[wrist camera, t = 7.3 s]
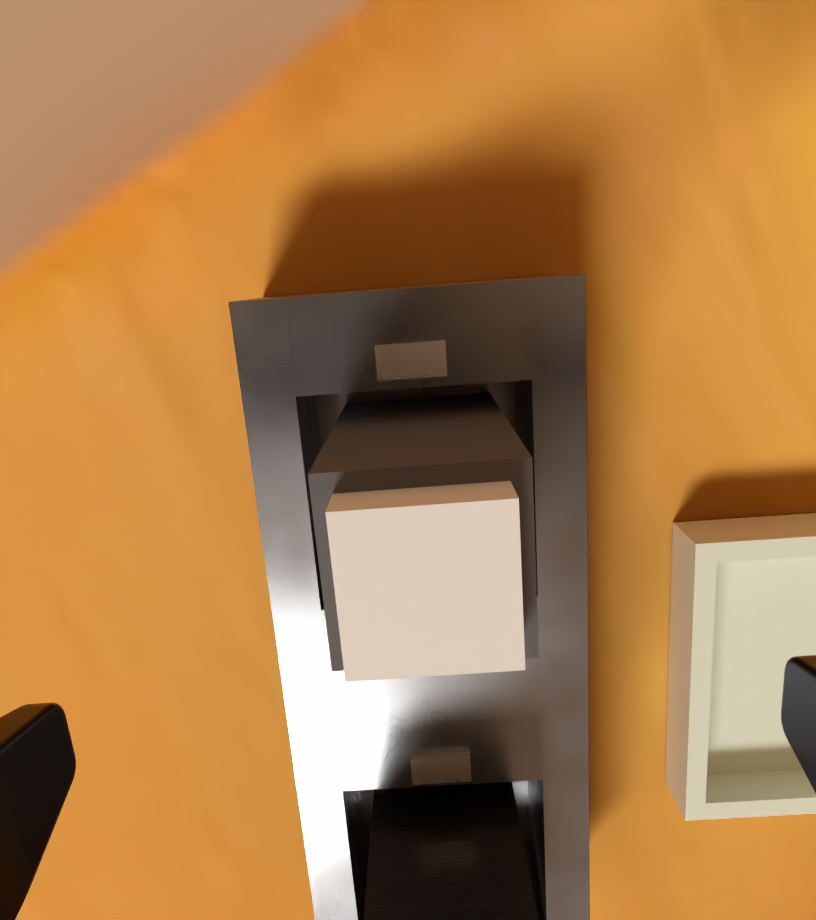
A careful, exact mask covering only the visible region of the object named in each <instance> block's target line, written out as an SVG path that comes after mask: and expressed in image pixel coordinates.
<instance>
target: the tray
mask: <svg viewBox="0 0 816 920" xmlns="http://www.w3.org/2000/svg"><path fill="white" fill-rule="evenodd" d="M808 655H816V513H808V514H793V515H778V516H763V517H748V518H733V519H718V520H702V521H687V522H673V538H672V572H671V607H670V642H669V676H668V711H667V746H666V780H665V781H666V783H667V785H668V787H669V789H670V791H671V793H672V795H673V797H674V799H675V801H676V803H677V805H678V807H679V809H680V811H681V813H682V815H683V817H684V819H685V821H688V820H706V819H724V818H743V817H761V816H780V815H798V814H816V793H815V791H814V789H813V788H812V786H811V784H810V782H809V780H808V778H807V776H806V774H805V772H804V770H803V768H802V767H801V765H800V763H799V761H798V759H797V757H796V755H795V753H794V751H793V749H792V748H791V746H790V744H789V742H788V740H787V738H786V736H785V733H784V730H783V727H782V722H781V707H782V694H783V682H784V670H785V665H786V663H787V661H788V660H789V659H790V658H792V657H795V656H808Z"/></svg>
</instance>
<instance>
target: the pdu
mask: <svg viewBox="0 0 816 920" xmlns="http://www.w3.org/2000/svg"><path fill="white" fill-rule="evenodd" d="M229 308H230V316H231V323H232V330H233V337H234V344H235V351H236V358H237V366H238V373H239V380H240V387H241V394H242V401H243V408H244V416H245V423H246V430H247V437H248V444H249V451H250V458H251V466H252V473H253V480H254V487H255V494H256V501H257V508H258V516H259V523H260V530H261V537H262V544H263V551H264V558H265V566H266V573H267V580H268V587H269V594H270V601H271V608H272V616H273V623H274V630H275V637H276V644H277V651H278V658H279V666H280V673H281V680H282V687H283V694H284V701H285V708H286V716H287V723H288V730H289V737H290V744H291V751H292V758H293V766H294V773H295V780H296V787H297V794H298V801H299V808H300V816H301V823H302V830H303V837H304V844H305V851H306V858H307V866H308V873H309V880H310V887H311V894H312V901H313V908H314V916H315V920H590V884H589V721H588V558H587V395H586V275H549V276H536V277H523V278H510V279H497V280H484V281H471V282H458V283H445V284H432V285H419V286H406V287H393V288H380V289H368V290H355V291H342V292H329V293H316V294H303V295H290V296H277V297H264V298H255V299H248V300H240V301H233V302H229ZM477 393H490V394H491V396H492V397H493V399H494V400H495V402H496V403H497V405H498V406H499V408H500V409H501V411H502V412H503V414H504V415H505V417H506V418H507V420H508V421H509V423H510V424H511V426H512V427H513V429H514V431H515V432H516V434H517V435H518V437H519V438H520V440H521V441H522V443H523V444H524V446H525V447H526V449H527V450H528V452H529V453H530V455H531V456H532V466H533V497H534V528H535V559H536V590H537V620H538V651H539V658H532V659H525V670H521V671H505V672H490V673H474V674H459V675H444V676H428V677H413V678H397V679H382V680H366V681H351V682H345V675H344V671H332V668H331V660H330V652H329V643H328V635H327V627H326V619H325V611H324V603H323V594H322V586H321V578H320V570H319V562H318V554H317V545H316V537H315V529H314V521H313V513H312V505H311V497H310V488H309V480H308V473H309V471H310V469H311V467H312V465H313V463H314V462H315V460H316V458H317V456H318V454H319V452H320V451H321V449H322V447H323V445H324V443H325V441H326V439H327V438H328V436H329V434H330V432H331V430H332V428H333V426H334V425H335V423H336V421H337V419H338V417H339V415H340V414H341V412H342V410H343V408H344V406H345V404H347V403H360V402H373V401H386V400H399V399H412V398H425V397H438V396H451V395H464V394H477Z"/></svg>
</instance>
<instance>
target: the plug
mask: <svg viewBox="0 0 816 920" xmlns="http://www.w3.org/2000/svg"><path fill="white" fill-rule="evenodd" d="M308 480H309V488H310V497H311V505H312V513H313V521H314V529H315V537H316V545H317V554H318V562H319V570H320V578H321V586H322V594H323V603H324V611H325V619H326V627H327V635H328V643H329V652H330V660H331V668H332V671H344V675H345V682H351V681H366V680H382V679H397V678H413V677H428V676H444V675H459V674H474V673H490V672H505V671H521V670H525V659H532V658H539V651H538V620H537V590H536V559H535V528H534V497H533V466H532V456H531V455H530V453H529V452H528V450H527V449H526V447H525V446H524V444H523V443H522V441H521V440H520V438H519V437H518V435H517V434H516V432H515V431H514V429H513V427H512V426H511V424H510V423H509V421H508V420H507V418H506V417H505V415H504V414H503V412H502V411H501V409H500V408H499V406H498V405H497V403H496V402H495V400H494V399H493V397H492V396H491V394H490V393H477V394H464V395H451V396H438V397H425V398H412V399H399V400H386V401H373V402H360V403H347V404H345V406H344V408H343V410H342V412H341V414H340V415H339V417H338V419H337V421H336V423H335V425H334V426H333V428H332V430H331V432H330V434H329V436H328V438H327V439H326V441H325V443H324V445H323V447H322V449H321V451H320V452H319V454H318V456H317V458H316V460H315V462H314V463H313V465H312V467H311V469H310V471H309V473H308Z"/></svg>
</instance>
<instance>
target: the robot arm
mask: <svg viewBox="0 0 816 920" xmlns="http://www.w3.org/2000/svg"><path fill="white" fill-rule="evenodd" d="M781 722H782V727H783V730H784V733H785V736H786V738H787V740H788V742H789V744H790V746H791V748H792V749H793V751H794V753H795V755H796V757H797V759H798V761H799V763H800V765H801V767H802V768H803V770H804V772H805V774H806V776H807V778H808V780H809V782H810V784H811V786H812V788H813V789H814V791H815V793H816V655H808V656H795V657H792V658H790V659H789V660H788V661H787V663H786V665H785V670H784V682H783V694H782V707H781ZM75 768H76V759H75V753H74V749H73V745H72V741H71V737H70V732H69V728H68V724H67V720H66V716H65V713H64V710H63V709H62V707H61V706H60V705H58V704H56V703H41V704H27V705H23V706H21V707H19V708H17V709H15V710H13V711H12V712H10V713H8V714H6V715H4V716H2V717H0V920H15V919H16V917H17V914H18V912H19V910H20V908H21V906H22V904H23V902H24V900H25V897H26V895H27V893H28V891H29V888H30V886H31V884H32V881H33V879H34V876H35V874H36V871H37V869H38V866H39V864H40V861H41V859H42V856H43V854H44V851H45V849H46V846H47V844H48V841H49V839H50V836H51V834H52V831H53V829H54V826H55V824H56V821H57V819H58V816H59V814H60V811H61V809H62V806H63V804H64V801H65V799H66V796H67V794H68V791H69V789H70V786H71V784H72V781H73V778H74V774H75Z"/></svg>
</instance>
